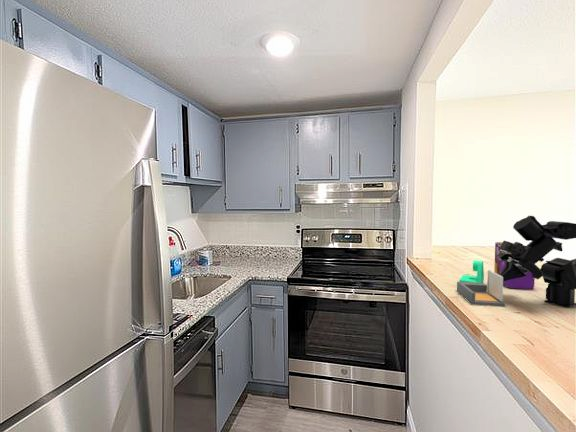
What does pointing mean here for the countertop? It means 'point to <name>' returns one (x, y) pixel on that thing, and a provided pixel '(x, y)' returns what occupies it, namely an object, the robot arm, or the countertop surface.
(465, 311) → the countertop surface
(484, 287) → the camera case
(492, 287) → the door
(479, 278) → the camera mount
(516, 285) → the toy camera
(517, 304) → the countertop surface
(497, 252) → the candy box
